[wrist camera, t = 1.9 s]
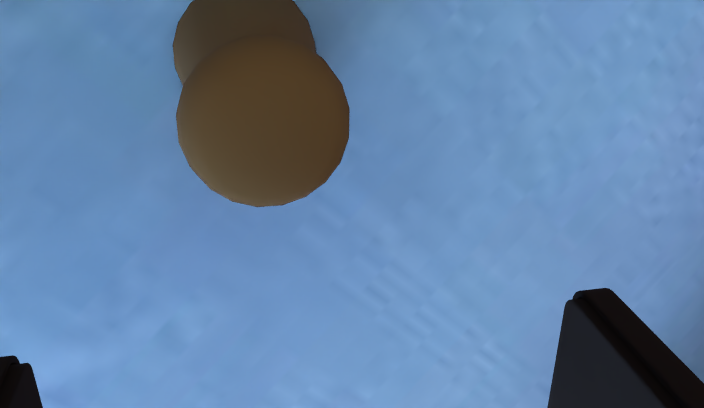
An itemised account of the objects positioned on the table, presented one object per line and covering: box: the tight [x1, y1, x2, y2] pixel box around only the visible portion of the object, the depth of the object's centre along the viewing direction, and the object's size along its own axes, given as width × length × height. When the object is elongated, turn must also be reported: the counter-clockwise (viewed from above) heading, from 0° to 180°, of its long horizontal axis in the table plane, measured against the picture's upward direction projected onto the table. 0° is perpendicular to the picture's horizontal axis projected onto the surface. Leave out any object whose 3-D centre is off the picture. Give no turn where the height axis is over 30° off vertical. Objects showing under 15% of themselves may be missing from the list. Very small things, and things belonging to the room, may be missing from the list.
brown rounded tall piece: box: [173, 0, 349, 207], centre depth 23 cm, size 6×6×11 cm
